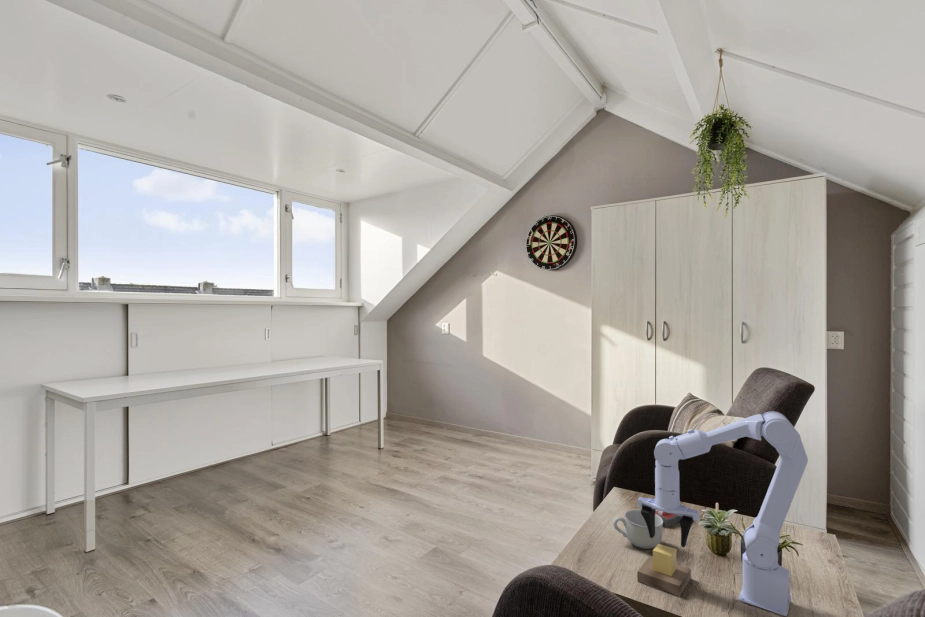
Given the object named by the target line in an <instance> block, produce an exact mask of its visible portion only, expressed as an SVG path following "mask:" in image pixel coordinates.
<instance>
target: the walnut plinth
mask: <svg viewBox="0 0 925 617" xmlns="http://www.w3.org/2000/svg"><path fill="white" fill-rule="evenodd" d="M636 579H637V582H639V583H642V584H644V585H646V586H649V587H652V588H654V587H655V589H657V588H658V590H660V589H661V590H660V591H663V590H664V591H663V592H665V593H668V592H669V593H668V594H672V595H674V596H677V597H679V596H681V595H682V594H683V592H684V590H685V588H687V586H688V584H689V583H690V581H691V580H692V569H691V568H689V567H687V566H683V565H681V564H677V563H676V570H675V572H674V573H673V575H672V576H669V575H666V574H663V573H660V572H657V571H654V570H653V555H650V556H649V557H648V558H647V559H646V560H645V562H644V563H643V564H642V565H641V566H640V568H639V569H638V570H637V578H636Z"/></svg>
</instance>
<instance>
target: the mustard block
mask: <svg viewBox="0 0 925 617" xmlns="http://www.w3.org/2000/svg"><path fill="white" fill-rule="evenodd" d="M652 556H653V570H654V571H657V572H660V573H663V574H666V575H669V576H672V575H673V573H674V572H675V570H676V564H677V549H676V548H673V547H670V546H667V545H664V544H661V543H660V544H658V545H657V546H655V547H654V548H653V549H652Z"/></svg>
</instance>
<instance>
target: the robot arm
mask: <svg viewBox="0 0 925 617" xmlns="http://www.w3.org/2000/svg"><path fill="white" fill-rule="evenodd" d="M762 436H763V438H764V439H765V440H766V442H768V444H770V445H771V446H772V447H773V448H775V450H776V452H777V453H778V454H779V456H780V458H779V461H778V464H777V466H776V469H775V470H774V474H773V476H772V478H771V481H770V483H769V486H768V488H767V491H766V494H765V496H764V499H763V501H762V504H761V506H760V510H759V512H758V514H757V516H756V517H755V518H754V519H753V522H752V523H751V524H750V526H748V527H746V528H745V529H744V531H743V535H742V537H743V541H744V545H745V552H744V553H742V559H741V560H742V588H741V591H740V593H739V595H738V599H737V600H738V601H740V602H742V603H744V604H745V603H746V604H748V605H752V606H754V607H758V608H760V609H763V610H766V611H769V612H772V613H774V614H777V615H781V616H784V617H787V616H788V612H789V608H790V604H791V602H792V595H791V587H790V586H791V576H790V573H791V572H790V569H788V568H786V567H783V566H782V565H779V555H778V554H779V553H778V547H779V544H780V539H781V530H782V527H783V525H784V522H785V520H786V518H787V515H788V512H789V510H790V508H791V506H792V505H791V504H792V502H793V500H794V497H795V495H796V492H797V491H798V487H799V485H800V482H801V479H802V478H803V475H804V472H805V470H806V468H807V465H808V460H809V459H808V455H807V453H806V449H805V446H804V444H803V441H802V437H801V434H800V433H799V431H798V430H797V429H796V428H795V426H794V425H793V424H792V423H791V421H790V420H789V419H788V418H787V417H786V416H785V414H782V413H780V412H779V411H774V410H772V411H767V412H764V413H763V414H761V413H758V414H754V415H751V416H748V417H745V418H742V419H739V420H737V421H734V422H731V423H728V424H725V425H723V426H720V427H717V428H714V429H712V430H709V431H703V430H701V429H695V430H694V429H693V428H690V429H687V432H686V433H682V434H679V435H676V436H674V435H671V436H669V437H668V438H663V439H660V440H659V441H657V443H656V445H655V448H654V450H653V455H654V459H655V463H654V465H655V467H654V484H655V487H654V492H655V493H654V495H655V496H654V498H650V497H649V498H648V497H642V496H639V498H637V507H639V508H641V509H640V510H641V514H642V516H643V518H644V520H645V522H646V525H647V527H648V531H649V535H650V538H653V537H654V536H655V512H656V510H659V511H663V512H667V513H671V514H675V515H678V516H682V517H683V518H682V519H681V520H680V523H679V526H680V547H682V548H685V547H686V545H687V542H688V537H689V533H690V530H691V528H692V526H693V524H694V522H698V521H699V519H700V510H696V509H693V508H690V507H688V506H685V505H682V504H680V502H681V500H680V470H679V461H680V460H686V459H690V458H694V457H697V456H700V455H704V454H706V453H709V452H710V451H711V448H712V446H714V445H718V444H722V443H726V442H729V441H730V442H731V441H734V440H739V439H741V438H746V437H747V438H751V439H753V440H757V441H759V442H761V441H762Z"/></svg>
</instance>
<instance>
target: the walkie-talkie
mask: <svg viewBox="0 0 925 617" xmlns="http://www.w3.org/2000/svg"><path fill="white" fill-rule="evenodd" d="M655 514H657V515H658V516H660V517H661V518H662V519H663V526H664V528H665V529H666V528H670V527H672V526H676V525H678V524H680V520H681V519H682V518H683V517H682V516H678V515H675V514H671V513H667V512H663V511H659V510H656V512H655Z"/></svg>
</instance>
